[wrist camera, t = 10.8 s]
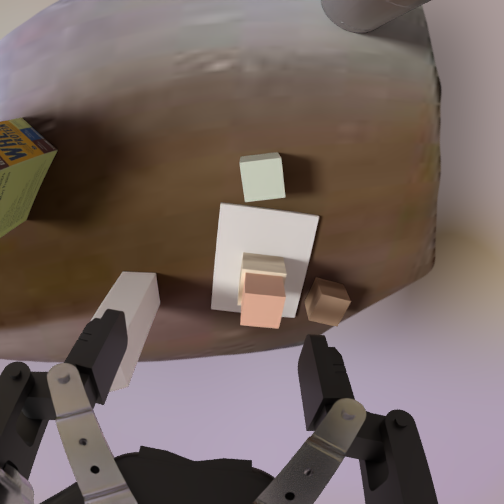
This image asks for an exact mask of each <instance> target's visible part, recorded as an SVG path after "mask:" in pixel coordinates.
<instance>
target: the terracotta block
mask: <svg viewBox="0 0 504 504" xmlns="http://www.w3.org/2000/svg"><path fill="white" fill-rule="evenodd" d="M285 299H286V295H285V289H284V283H283V277H282V276H273V275H264V274H255V273H245V280H244V287H243V294H242V302H241V323H240V325H246V326H256V327H267V328H279V325H280V321H281V316H282V312H283V308H284V303H285Z"/></svg>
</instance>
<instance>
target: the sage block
mask: <svg viewBox="0 0 504 504" xmlns="http://www.w3.org/2000/svg"><path fill="white" fill-rule="evenodd" d="M240 170H241V177H242V184H243V191H244V198H245V202H250V201H258V200H267V199H275V198H284V197H285V189H284V179H283V170H282V160H281V157H280V155H279V153H278V152H277V153H267V154H259V155H251V156H243V157H241V158H240Z"/></svg>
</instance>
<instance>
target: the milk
mask: <svg viewBox="0 0 504 504" xmlns="http://www.w3.org/2000/svg"><path fill="white" fill-rule="evenodd" d="M159 305H160V298H159V291H158V284H157V277H156V273H145V272H122V274H121V275H120V276H119V278H118V279H117V281H116V282H115V284H114V285H113V287H112V288H111V290H110V291H109V293H108V294H107V296H106V298H105V299H104V301H103V302H102V304H101V305H100V307H99V308H98V310H97V312H96V313H95V315H94V316H93V318H92V320H93V319H94V318H100V319H101V317H102V316H103V314H104V312H105V311H106V310H107V309H113V310H118V311H123V312H124V314H125V321H126V328H127V335H128V345H127V349H126V352H125V354H124V357H123V359H122V361H121V364H120V366H119V368H118V371H117V373H116V376H115V378H114V381H113V383H112V386H111V388H110V391H109V392H111V391H115V390H119V389H122V388H126V387H128V386H129V383H130V381H131V378H132V375H133V372H134V370H135V366H136V364H137V361H138V359H139V356H140V353H141V351H142V348H143V346H144V343H145V340H146V338H147V335H148V333H149V330H150V327H151V325H152V322H153V320H154V317H155V315H156V312H157V310H158V307H159ZM92 320H91V321H92Z"/></svg>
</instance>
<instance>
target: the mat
mask: <svg viewBox="0 0 504 504" xmlns="http://www.w3.org/2000/svg"><path fill="white" fill-rule="evenodd" d="M318 220H319V216H318V215H313V214H306V213H299V212H292V211H285V210H277V209H270V208H262V207H255V206H247V205H239V204H230V203H222V202H221V205H220V215H219V225H218V235H217V245H216V256H215V267H214V279H213V290H212V303H211V309H215V310H223V311H232V312H240V313H241V306H240V305H237V303H238V287H239V279H240V272H241V265H242V257H243V252H245V253H253V254H262V255H270V256H279V257H283V258H284V263H285V268H286V273H287V275H286V279H285V284H284V289H285V295H286V299H285V303H284V308H283V312H282V316H281V317H292V318H295V314H296V310H297V307H298V303H299V299H300V295H301V291H302V287H303V283H304V279H305V275H306V271H307V267H308V263H309V259H310V255H311V250H312V246H313V242H314V237H315V233H316V229H317V224H318Z"/></svg>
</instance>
